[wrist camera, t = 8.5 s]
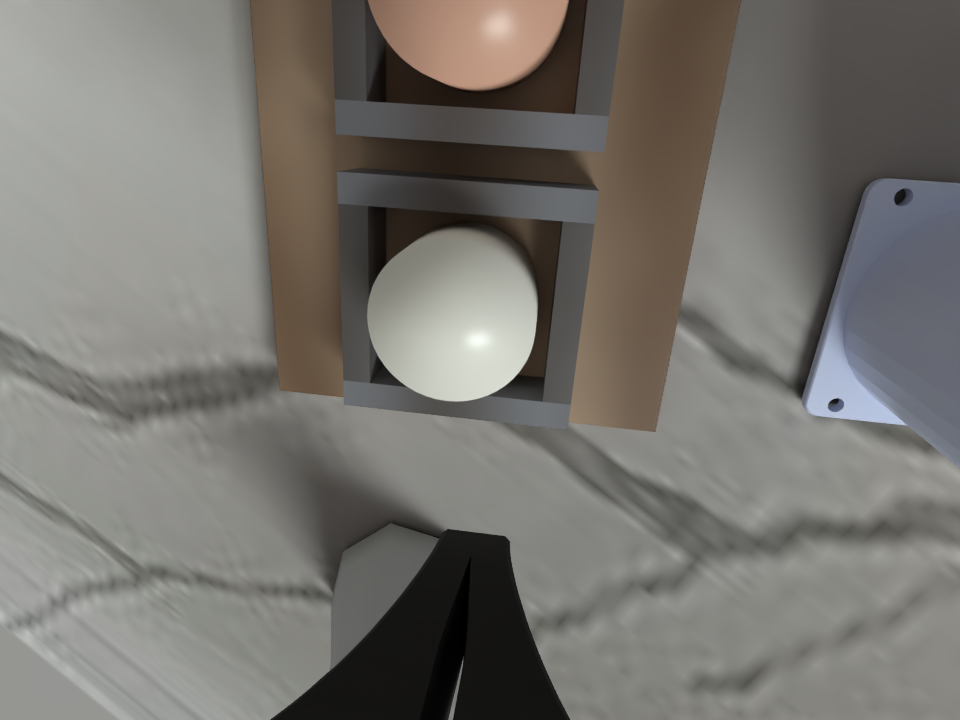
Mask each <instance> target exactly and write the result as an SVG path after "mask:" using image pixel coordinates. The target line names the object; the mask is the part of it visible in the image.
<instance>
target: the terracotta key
mask: <svg viewBox="0 0 960 720" xmlns="http://www.w3.org/2000/svg"><path fill="white" fill-rule="evenodd" d="M368 3H369V6H370V9H371V12H372V14H373V17H374V19H375V21H376V24H377V25H378V27H379V29H380V31H381V33H382V34H383V36H384V38H385V39H386V40H387V42H388V43H389V44H390V46H391V47H392V48H393V50H394V51H395V52H396V53H397V54H398V55H399V56H400V57H401V58H402V59H403V60H404V61H406V62H407V63H408V64H409V65H410V66H412V67H413V68H415V69H416V70H418V71H420V72H421V73H423V74H425V75H427V76H429V77H431V78H433V79H436V80H438V81H440V82H442V83H444V84H446V85H449V86H451V87H453V88H455V89H458V90H462V91H465V92H471V93H493V92H499V91H502V90H505V89H508V88H511V87H513V86H515V85H517V84H519V83H521V82H522V81H524V80H525V79H527V78H529V77H530V76H531V75H532V74H533V73H534V72H536V71H537V70H538V69H539V68H540V67H541V66H542V64H543V63H544V62H545V61H546V60H547V58H548V57H549V56H550V54H551V53H552V51H553V50H554V48H555V46H556V44H557V42H558V41H559V38H560V36H561V33H562V31H563V28H564V25H565V21H566V18H567V13H568V7H569V0H368Z"/></svg>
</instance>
